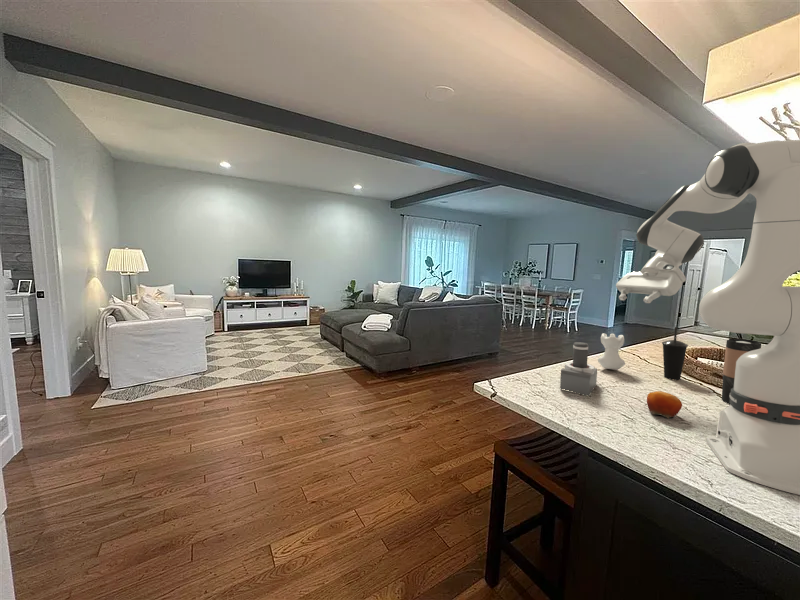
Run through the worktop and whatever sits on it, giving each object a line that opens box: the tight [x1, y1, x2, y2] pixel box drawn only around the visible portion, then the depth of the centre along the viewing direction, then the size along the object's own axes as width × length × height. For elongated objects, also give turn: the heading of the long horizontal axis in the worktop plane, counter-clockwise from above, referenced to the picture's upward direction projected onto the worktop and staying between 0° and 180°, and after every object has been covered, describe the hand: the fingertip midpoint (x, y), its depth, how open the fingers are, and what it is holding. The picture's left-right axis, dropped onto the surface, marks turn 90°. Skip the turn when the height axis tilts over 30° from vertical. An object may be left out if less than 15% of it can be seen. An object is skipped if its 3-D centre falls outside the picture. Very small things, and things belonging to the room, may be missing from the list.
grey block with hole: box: [559, 361, 598, 397], centre depth 118 cm, size 14×9×8 cm, turn 140°
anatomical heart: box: [597, 332, 626, 371], centre depth 137 cm, size 10×11×15 cm
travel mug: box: [721, 338, 762, 404], centre depth 103 cm, size 8×8×20 cm
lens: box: [572, 341, 589, 368], centre depth 117 cm, size 5×5×10 cm
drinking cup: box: [661, 326, 689, 381], centre depth 126 cm, size 8×8×20 cm
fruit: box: [646, 390, 683, 420], centre depth 95 cm, size 8×8×8 cm
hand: (633, 300), depth 116 cm, fingers open, 8 cm apart
